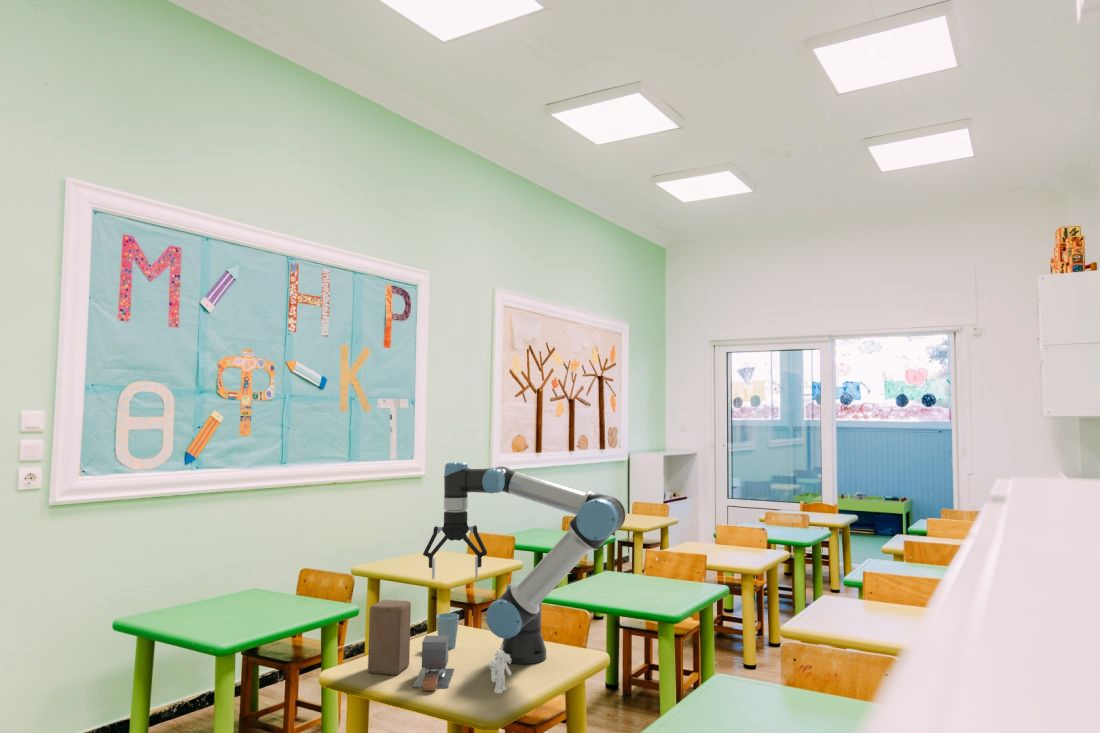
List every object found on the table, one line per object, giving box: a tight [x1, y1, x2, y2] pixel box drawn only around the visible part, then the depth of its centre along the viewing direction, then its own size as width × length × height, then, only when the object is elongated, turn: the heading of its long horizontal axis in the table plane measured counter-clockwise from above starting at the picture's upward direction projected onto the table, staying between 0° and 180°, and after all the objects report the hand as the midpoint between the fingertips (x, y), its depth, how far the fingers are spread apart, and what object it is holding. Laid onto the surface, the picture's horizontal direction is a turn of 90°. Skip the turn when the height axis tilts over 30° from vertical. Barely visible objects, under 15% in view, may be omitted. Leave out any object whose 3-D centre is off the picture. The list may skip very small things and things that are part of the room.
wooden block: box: [367, 599, 412, 676], centre depth 227 cm, size 10×10×20 cm
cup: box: [435, 612, 460, 650], centre depth 251 cm, size 8×8×10 cm
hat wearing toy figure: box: [488, 646, 512, 694], centre depth 210 cm, size 9×4×12 cm, turn 148°
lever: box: [412, 668, 455, 691], centre depth 217 cm, size 10×19×7 cm, turn 1°
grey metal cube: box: [421, 635, 449, 669], centre depth 221 cm, size 7×7×8 cm
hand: (455, 578), depth 235 cm, fingers open, 13 cm apart
